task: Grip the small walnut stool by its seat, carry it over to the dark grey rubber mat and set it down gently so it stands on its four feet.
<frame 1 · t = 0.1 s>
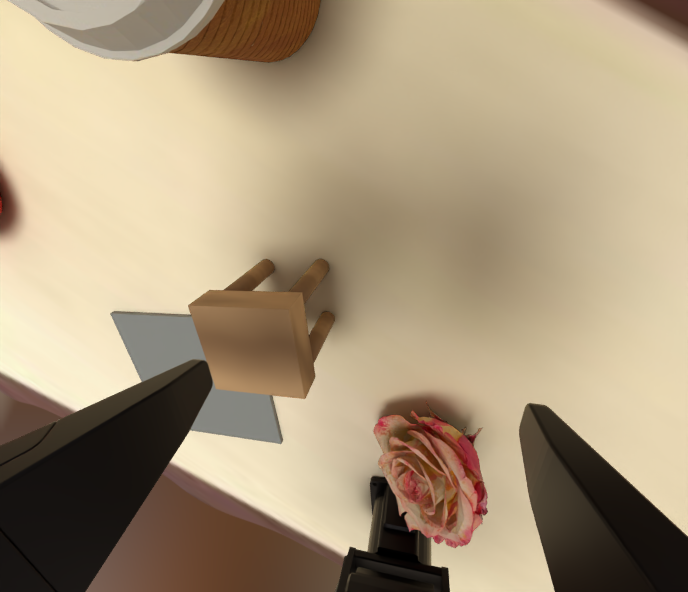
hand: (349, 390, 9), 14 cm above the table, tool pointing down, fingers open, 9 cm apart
stool: (297, 292, 25), on the table
flower: (424, 425, 29), on the table
mat: (201, 378, 32), on the table
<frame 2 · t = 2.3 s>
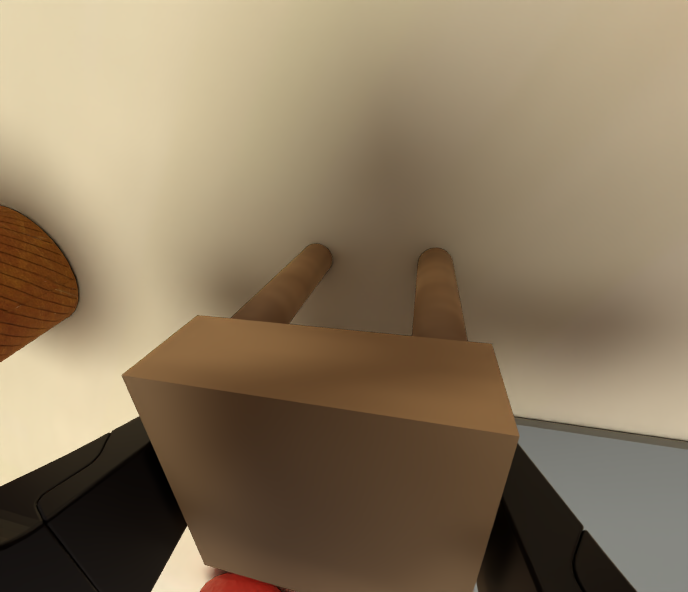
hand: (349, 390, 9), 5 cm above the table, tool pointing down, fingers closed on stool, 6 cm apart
stool: (373, 312, 13), on the table, touching gripper
mat: (570, 538, 16), on the table
pomegranate: (259, 588, 28), on the table
disposable coffee cup: (29, 265, 17), on the table
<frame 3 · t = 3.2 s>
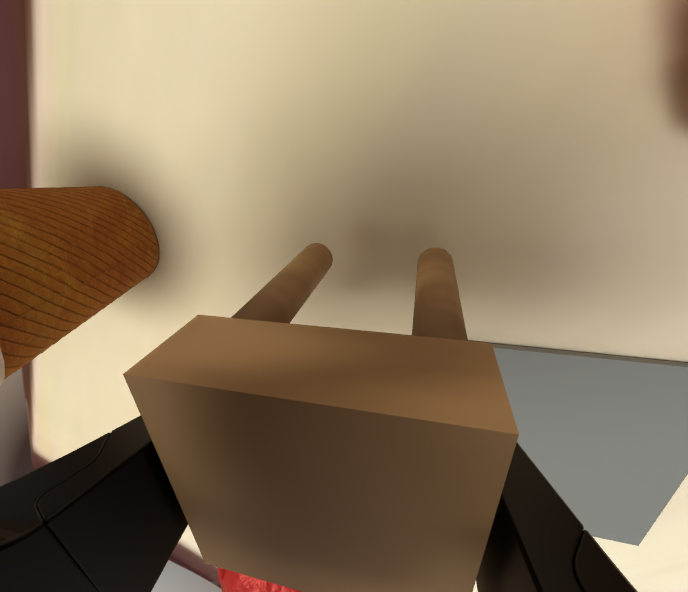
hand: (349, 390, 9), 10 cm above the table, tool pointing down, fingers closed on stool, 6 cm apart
stool: (373, 312, 13), point 5 cm above the table, touching gripper
mat: (541, 446, 21), on the table
pomegranate: (285, 523, 33), on the table
disposable coffee cup: (119, 235, 21), on the table
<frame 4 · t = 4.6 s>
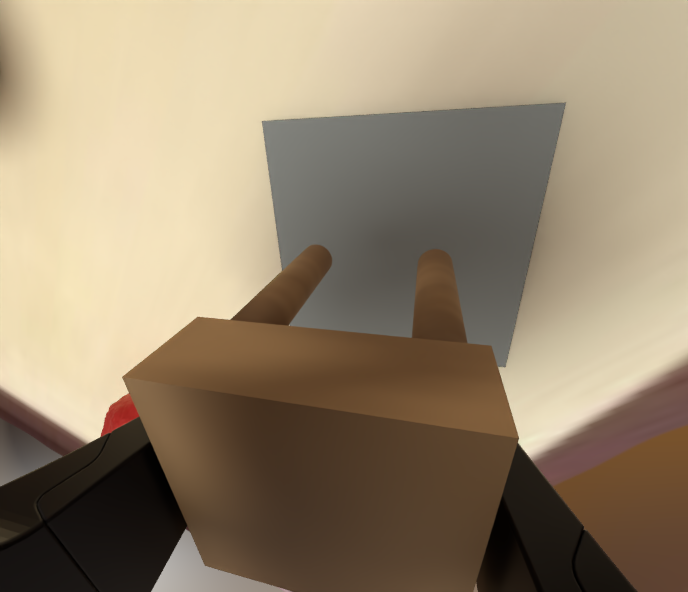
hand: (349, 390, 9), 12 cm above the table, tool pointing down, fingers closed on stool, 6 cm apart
stool: (373, 313, 13), point 8 cm above the table, touching gripper
mat: (394, 252, 20), on the table
pomegranate: (188, 406, 32), on the table
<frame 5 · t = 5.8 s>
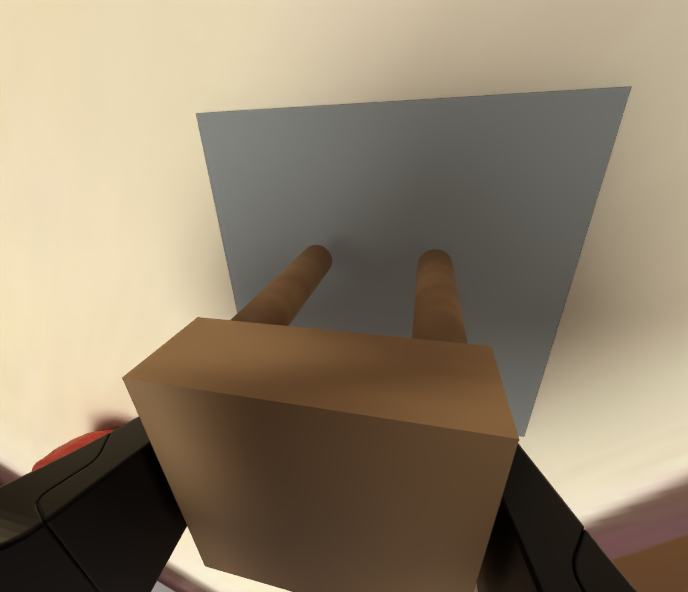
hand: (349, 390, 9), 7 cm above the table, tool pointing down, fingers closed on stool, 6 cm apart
stool: (373, 313, 13), point 2 cm above the table, touching gripper
mat: (380, 289, 15), on the table
pomegranate: (141, 454, 27), on the table
when the fingers open (6 cm above the table, at t = 6.9 s): stool drops 1 cm, resting on mat.
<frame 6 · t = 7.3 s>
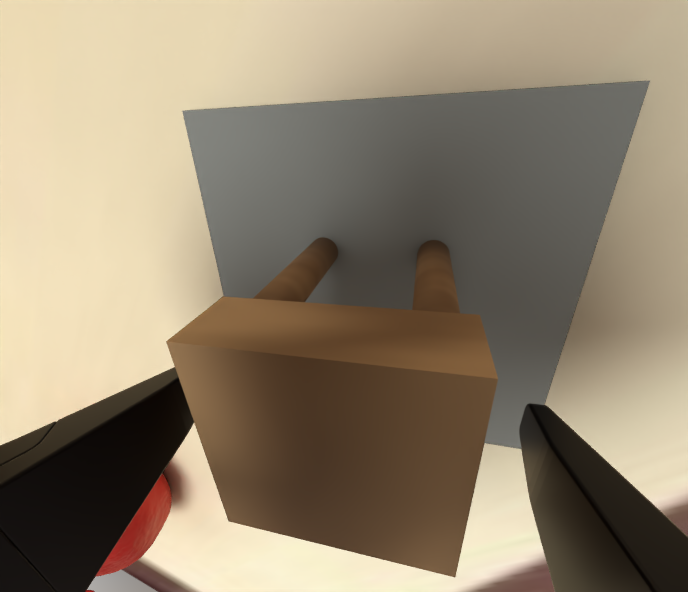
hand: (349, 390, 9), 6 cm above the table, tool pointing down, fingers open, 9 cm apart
stool: (376, 301, 14), resting on mat
mat: (378, 297, 14), on the table
pomegranate: (134, 462, 26), on the table
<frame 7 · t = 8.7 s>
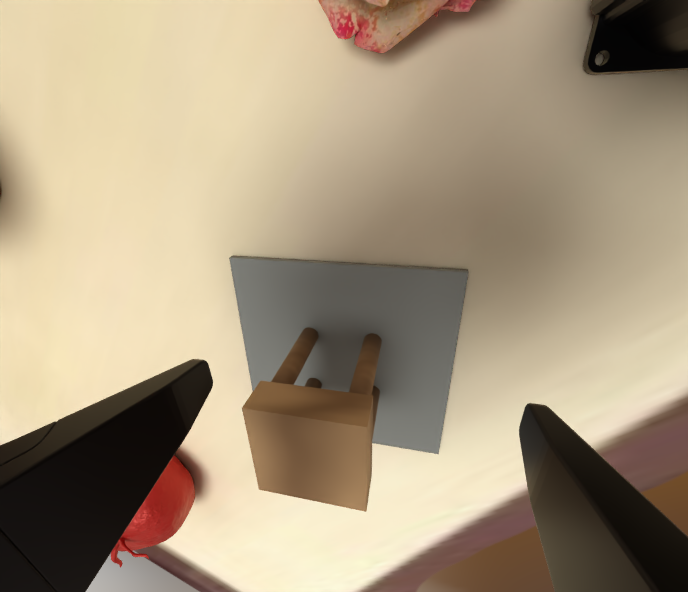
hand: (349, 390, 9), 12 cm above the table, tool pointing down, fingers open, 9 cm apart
stool: (341, 363, 23), resting on mat
mat: (343, 360, 23), on the table
pomegranate: (165, 464, 35), on the table
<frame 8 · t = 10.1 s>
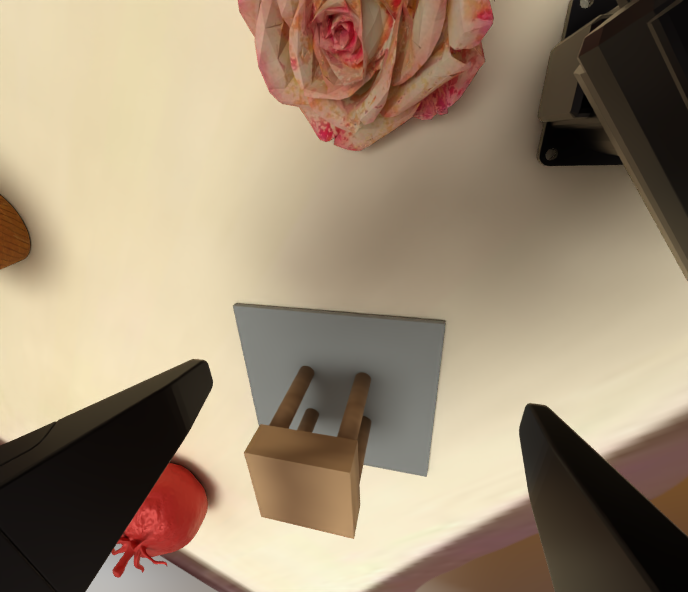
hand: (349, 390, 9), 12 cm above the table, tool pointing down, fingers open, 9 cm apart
stool: (336, 397, 25), resting on mat
flower: (378, 49, 15), on the table
mat: (337, 393, 26), on the table
pomegranate: (180, 477, 38), on the table
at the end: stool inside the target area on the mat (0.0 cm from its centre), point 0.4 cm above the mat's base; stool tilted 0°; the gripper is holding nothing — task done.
